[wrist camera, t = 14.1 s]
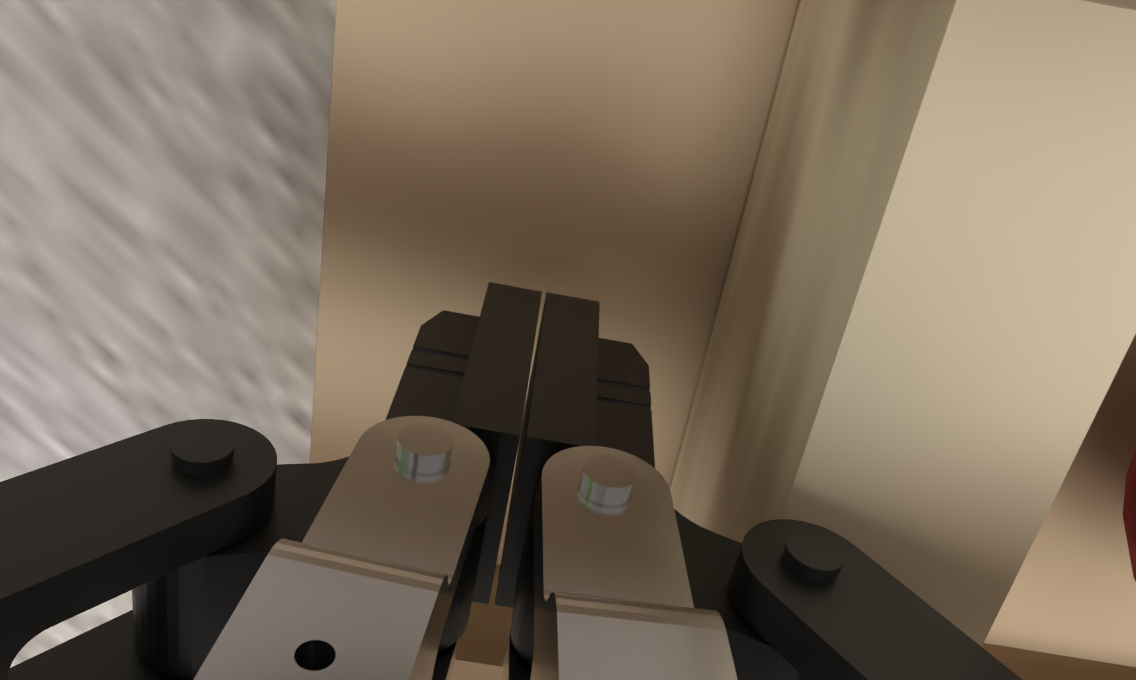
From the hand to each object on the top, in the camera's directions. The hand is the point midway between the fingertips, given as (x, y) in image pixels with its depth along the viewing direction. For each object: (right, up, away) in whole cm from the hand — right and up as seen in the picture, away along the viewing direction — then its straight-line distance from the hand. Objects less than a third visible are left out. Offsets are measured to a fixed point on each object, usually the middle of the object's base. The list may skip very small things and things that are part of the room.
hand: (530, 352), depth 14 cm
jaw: (+4, 0, +2) cm, 4 cm away
